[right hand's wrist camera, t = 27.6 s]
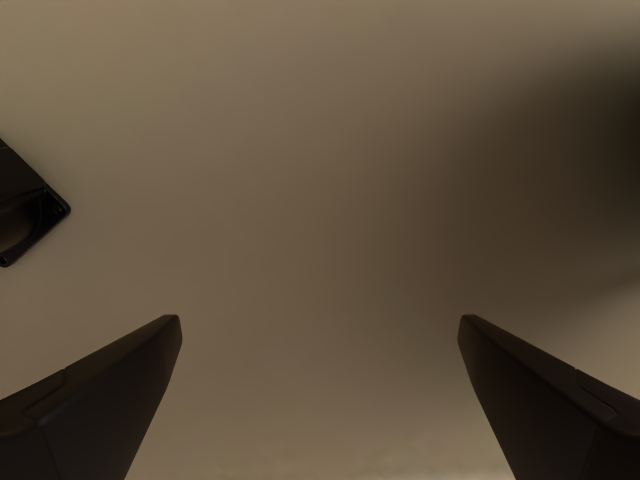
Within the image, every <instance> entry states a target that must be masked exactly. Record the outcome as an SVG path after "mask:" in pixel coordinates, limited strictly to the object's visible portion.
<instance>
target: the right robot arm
mask: <svg viewBox="0 0 640 480" xmlns="http://www.w3.org/2000/svg"><path fill="white" fill-rule="evenodd" d="M58 207H60V208H61V209H62V212H60V211H59V209H58ZM70 212H71V209H70V206H69V205H68V204H67V203H66V202H65V201H64V200H63V199H62V198H61V197H60V196H59V195H58V194H57V193H56V192H55V191H54V190H53V189H52V188H51V187H50V186H49V185H48V184H47V183H46V182H45V181H44V180H43V179H42V178H41V177H40V176H39V175H38V174H37V173H36V172H35V171H34V170H33V169H32V168H31V167H30V166H29V165H28V164H27V163H26V162H25V161H24V160H23V159H22V158H21V157H20V156H19V155H18V154H17V153H16V152H15V151H14V150H13V149H11V148H10V147H9V146H8V145H7V144H6V143H5V142H4V141H3V140H2V139H0V266H1V267H8V266H10V265H12V264H14V263H15V262H16V261H17V260H19V259H20V258H21V257H22V256H23V255H24V254H25V253H26V252H28V251H29V250H30V249H31V248H32V247H33V246H34V245H36V244H37V243H38V242H39V241H40V240H41V239H42V238H43V237H45V236H46V235H47V234H48V233H49V232H50V231H51V230H52V229H54V228H55V227H56V226H57V225H58V224H59V223H60V222H61V221H63V220H64V219H65V218H66V217H67V216H68V215H69V214H70ZM4 258H5V259H6V260H7V261H6V260H5V259H4ZM181 345H182V331H181V325H180V319H179V317H178V315H163V316H161V317H159V318H158V319H156V320H154V321H152V322H150V323H148V324H146V325H144V326H142V327H141V328H139V329H137V330H135V331H133V332H131V333H129V334H127V335H126V336H124V337H122V338H120V339H118V340H116V341H114V342H112V343H111V344H109V345H107V346H105V347H103V348H101V349H99V350H97V351H96V352H94V353H92V354H90V355H88V356H86V357H84V358H82V359H80V360H79V361H77V362H75V363H73V364H71V365H69V366H67V367H66V368H65V370H64V369H62V370H60V371H58V372H56V373H54V374H52V375H50V376H48V377H46V378H45V379H43V380H41V381H39V382H37V383H35V384H33V385H31V386H29V387H27V388H25V389H23V390H21V391H18V392H16V393H14V394H12V395H10V396H8V397H6V398H4V399H2V400H0V480H124V479H125V477H126V475H127V472H128V470H129V468H130V466H131V464H132V462H133V460H134V457H135V455H136V453H137V451H138V449H139V447H140V445H141V442H142V440H143V438H144V436H145V434H146V432H147V430H148V427H149V425H150V423H151V421H152V419H153V417H154V415H155V412H156V410H157V408H158V406H159V404H160V402H161V400H162V397H163V395H164V393H165V391H166V389H167V386H168V384H169V381H170V378H171V375H172V372H173V369H174V366H175V363H176V360H177V357H178V354H179V351H180V348H181ZM458 345H459V348H460V351H461V354H462V357H463V360H464V363H465V366H466V369H467V372H468V375H469V378H470V381H471V384H472V386H473V388H474V391H475V393H476V395H477V397H478V400H479V402H480V404H481V406H482V408H483V410H484V412H485V415H486V417H487V419H488V421H489V423H490V425H491V427H492V430H493V432H494V434H495V436H496V438H497V440H498V442H499V445H500V447H501V449H502V451H503V453H504V455H505V457H506V460H507V462H508V464H509V466H510V468H511V470H512V472H513V475H514V477H515V479H516V480H640V400H638V399H636V398H634V397H632V396H630V395H628V394H626V393H624V392H622V391H619V390H617V389H615V388H613V387H611V386H609V385H607V384H605V383H603V382H601V381H599V380H597V379H595V378H594V377H592V376H590V375H588V374H586V373H584V372H582V371H580V370H578V369H576V370H575V368H574V367H573V366H571V365H569V364H567V363H565V362H563V361H561V360H560V359H558V358H556V357H554V356H552V355H550V354H548V353H546V352H544V351H543V350H541V349H539V348H537V347H535V346H533V345H531V344H529V343H528V342H526V341H524V340H522V339H520V338H518V337H516V336H514V335H513V334H511V333H509V332H507V331H505V330H503V329H501V328H499V327H498V326H496V325H494V324H492V323H490V322H488V321H486V320H484V319H482V318H481V317H479V316H477V315H462V317H461V319H460V325H459V331H458Z"/></svg>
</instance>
